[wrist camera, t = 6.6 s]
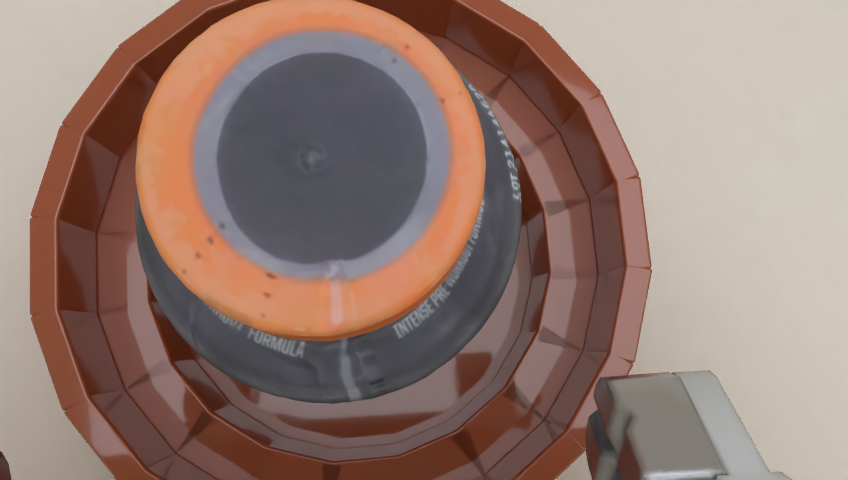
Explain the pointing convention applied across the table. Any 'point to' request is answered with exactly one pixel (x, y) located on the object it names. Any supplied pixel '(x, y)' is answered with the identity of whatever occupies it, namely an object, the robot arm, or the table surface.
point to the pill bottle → (323, 201)
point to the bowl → (391, 413)
